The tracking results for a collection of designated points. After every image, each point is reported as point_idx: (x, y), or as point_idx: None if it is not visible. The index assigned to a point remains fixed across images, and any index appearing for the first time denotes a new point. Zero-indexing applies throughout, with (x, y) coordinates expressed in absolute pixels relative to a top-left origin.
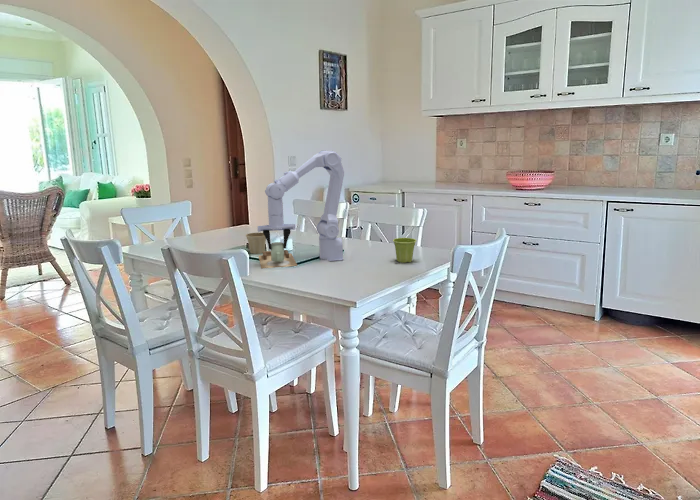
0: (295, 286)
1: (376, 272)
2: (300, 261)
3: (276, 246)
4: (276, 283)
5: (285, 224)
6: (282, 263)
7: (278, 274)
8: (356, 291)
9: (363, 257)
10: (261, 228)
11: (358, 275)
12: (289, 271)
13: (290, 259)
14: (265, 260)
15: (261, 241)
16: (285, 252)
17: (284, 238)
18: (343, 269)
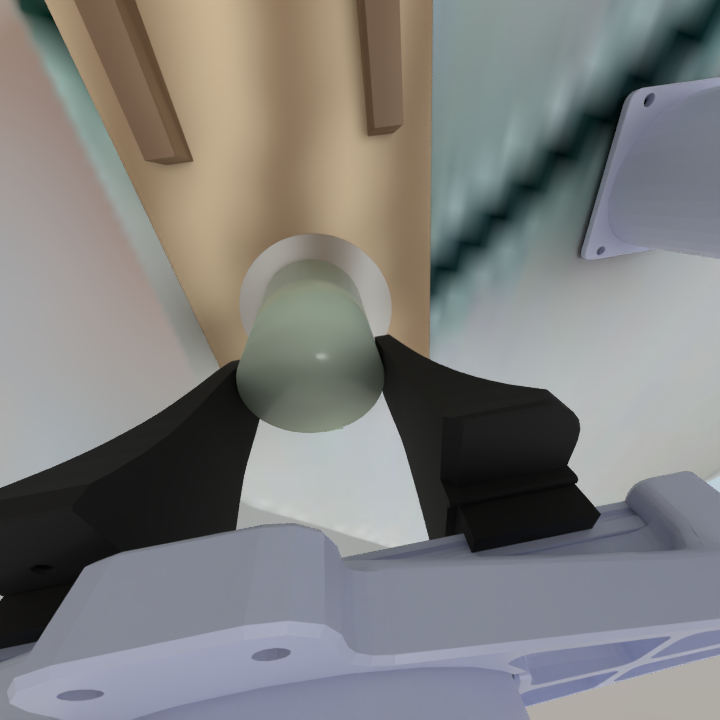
0: (395, 536)
1: (672, 437)
2: (465, 211)
3: (314, 428)
4: (339, 522)
5: (611, 631)
6: None
7: (336, 449)
8: None
9: None
10: None
11: (601, 462)
12: (382, 415)
13: (400, 196)
14: (192, 197)
15: None
16: (366, 22)
17: (409, 462)
18: (601, 400)
